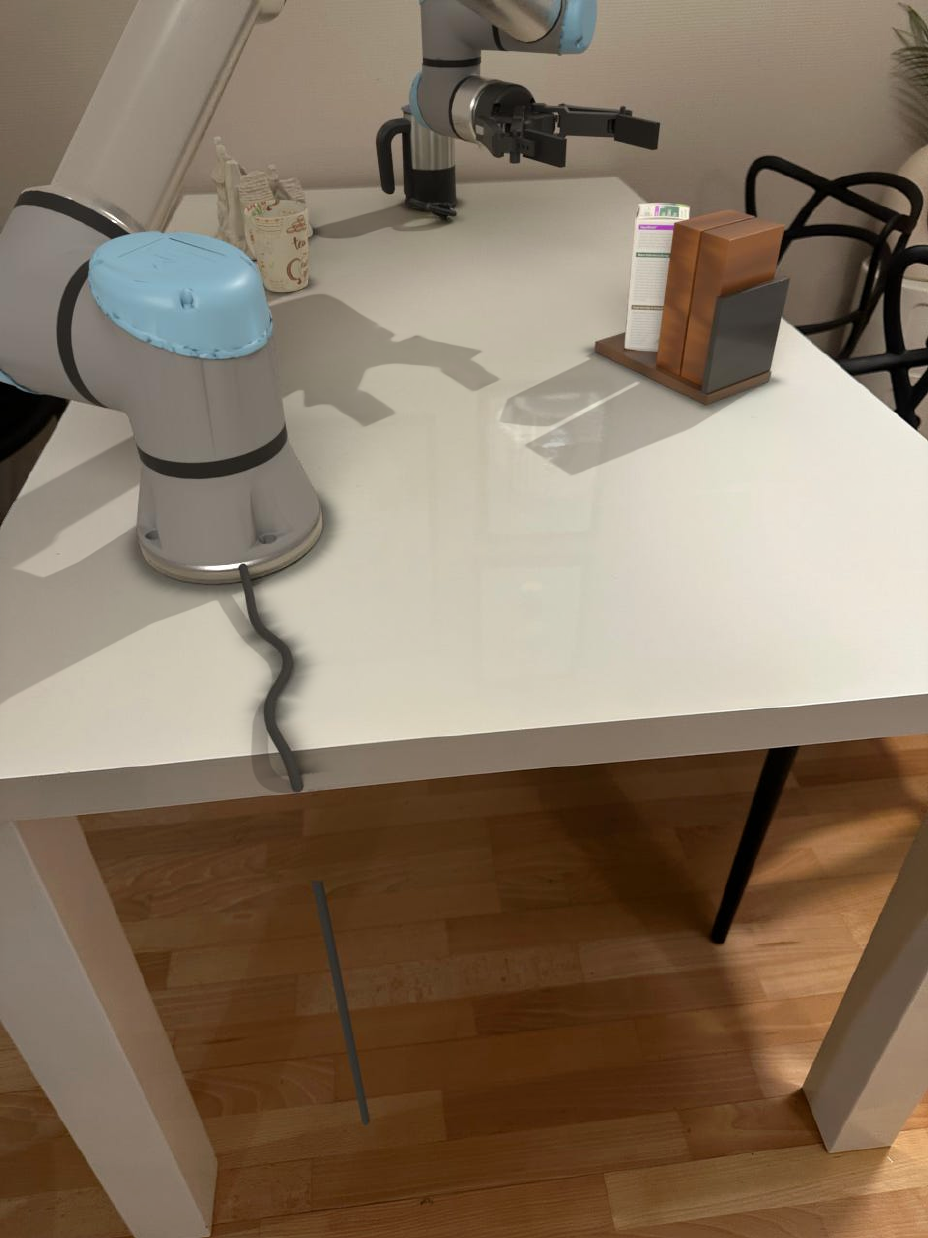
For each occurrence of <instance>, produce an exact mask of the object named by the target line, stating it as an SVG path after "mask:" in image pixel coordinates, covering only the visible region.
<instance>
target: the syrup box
mask: <svg viewBox="0 0 928 1238" xmlns="http://www.w3.org/2000/svg"><path fill="white" fill-rule="evenodd" d="M690 209H691V207H690V205H687V204H681V203H673V202H672V203H671V202H652V203H638V207H637V210H636V213H635V217H634V218H635V219H634V231H633V240H632V251H631V261H630V262H631V263H630V273H629V285H628V286H629V287H628V295H627V296H628V299H627V310H626V321H625V331H624V332H625V344H624V347H625V349H630V350H638V351H654V352H658V345H659V337H660V330H661V322H662V314H663V306H664V298H665V291H666V283H667V275H668V267H669V259H670V252H671V244H672V236H673V228H674V223H675V222H679V221H683V220H687V219H690Z"/></svg>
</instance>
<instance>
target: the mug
mask: <svg viewBox="0 0 928 1238" xmlns="http://www.w3.org/2000/svg"><path fill="white" fill-rule="evenodd" d="M244 216H245V220H246V222H245V238H246V242H247V245H248V247H249V249H250V251H251V253H252V254H253V255H254V257H255V258H256V259H257V260H256V262H257V265H258V266H257V267H258V270H259V274H260V276H261V278H262V283H263V287H264V289H265V290H267V291H269V292H274V293H292V292H297V291H299V290H302V289H305V288H306V287H307V286H308V284H309V237H308V224H309V208H308V206H307V204H306V205H305V204H304V203H301V202H297V201H289V200H275V201H266V202H260V203H256V204H253V205H250V206H248V207H247V208H246V209H245V210H244Z"/></svg>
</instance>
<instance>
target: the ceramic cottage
mask: <svg viewBox="0 0 928 1238" xmlns="http://www.w3.org/2000/svg"><path fill="white" fill-rule="evenodd" d="M212 141H213V144H214V146H215V149H214V157H215V159H216V165H215V167H214V169H213V170H212V171H211V176H210V177H211V181H212V182H213V183H214V185H215V190H216V195H217V203H216V205H217V211H216V212H217V213H216V214H217V221H218V223H219V226H218V227H217V228H218V229H217V231H216V233H214V238H215V239H219V240H221V241H224V242H227V243H229V244H231V245H233V246H234V247H236V248H238V249H239V250H241V251H242V252H244V253H245V254H246V255H247V256H248V257H249V258H250V259H251V260H252V261H254V260H255V261H257V259H256V258H255V257H254V255H253V254H252V253H251V251H250V249H249V247H248V245H247V242H246V238H245V222H246V220H245V216H244V210H245V209H246V208H247V207H248V206H250V205H253V204H256V203H260V202H266V201H275V200H289V201H297V202H301V203H304V204H305V205H306V206H307V203H306V200H307V198H306V195H305V192H304V189H303V188H302V185H301V183H300V181H299V179H298V178H297V177H291V178H288V179H279V175H278V172H277V166H276V165H274V164H270V165H268V166H267V175H266V173H265V172H264V171H262V172H260V171H259V170H255V171H251V172H248V170H247V168H246V167H244V166H242V165H241V164H240V162H238V160H236V159H235V158H234V157H233V156H231V155H228V154H227V151H226V147H225V146H224V144H223V140H222V138H221V137H220V136H215V137H213V138H212ZM313 234H314V230H313V227H312V226H311V224H310V223H308V238H310V237H312V236H313Z"/></svg>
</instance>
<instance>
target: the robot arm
mask: <svg viewBox="0 0 928 1238" xmlns="http://www.w3.org/2000/svg"><path fill="white" fill-rule="evenodd" d="M286 2H287V0H138V1H137V3H136V5H135V7H134V9H133V11H132V13H131V15H130V18H129V20H128V22H127V24H126V26H125V27H124V30H123V32H122V34H121V36H120V38H119V41H118V42H117V45H116V47H115V48H114V50H113V53H112V55H111V56H110V59H109V61H108V62H107V65H106V67H105V70H104V72H103V74H102V76H101V78H100V79H99V82H98V84H97V86H96V89H95V90H94V93H92V94H93V95H92V96H91V98H90V100H89V103H88V105H87V107H86V109H85V111H84V114H83V115H82V117H81V119H80V122H79V124H78V126H77V127H76V130H75V132H74V135H73V136H72V138H71V140H70V143H69V145H68V147H67V149H66V151H65V153H64V155H63V157H62V159H61V161H60V162H59V165H58V168H57V170H56V171H55V173H54V176H53V178H52V180H51V182H50V184H46V185H38V186H37V185H36V186H30V187H27V188H24V190H22V191H21V193H20V194H19V196H18V198H17V200H16V202H15V204H14V206H13V208H12V210H11V212H10V214H9V215H8V218H7V221H6V222H5V224H4V227H3V228H2V231H0V382H1V383H5V384H7V385H11V386H14V387H16V388H17V389H19V390H21V391H23V392H26V393H30V394H34V395H47V396H53V397H57V398H61V399H66V400H69V401H73V402H77V403H80V404H81V403H82V404H85V405H90V406H94V407H98V408H103V409H108V410H112V411H116V412H120V413H123V414H125V415H126V416H127V417H128V419H129V424H130V427H131V431H132V435H133V438H134V441H135V444H136V449H137V452H138V456H139V459H140V464H141V470H140V480H139V489H138V490H139V491H138V503H137V512H136V513H137V514H136V528H135V529H136V530H135V531H136V535H137V539H138V543H139V545H140V549H141V553H142V555H143V557H144V559H145V561H146V562H147V563H148V564H149V566H151V567H152V568H153V569H154V570H156V571H157V572H159V573H161V574H163V575H165V576H167V577H169V578H172V579H175V580H178V581H183V582H187V583H195V584H205V585H207V584H208V585H216V584H217V585H220V584H231V583H238V582H241V585H242V589H243V592H244V598H245V605H246V611H247V615H248V619H249V623H250V624H251V626H252V628H253V629H254V631H255V632H256V633H257V634H258V635H259V636H260V637H261V638H262V639H263V640H264V641H265V642H267V643H268V644H269V645H271V646H272V647H273V648H275V650H277V651H278V653H279V654H280V656H281V659H282V666H281V670H280V672H279V674H278V676H277V678H276V679H275V681H274V683H273V684H272V686H271V688H270V689H269V691H268V693H267V695H266V698H265V701H264V705H263V720H264V725H265V728H266V732H267V733H268V736H269V738H270V740H271V741H272V743H273V744H274V747H275V749H276V750H277V752H278V753H279V755H280V758H281V759H282V762H283V764H284V767H285V770H286V772H287V776H288V779H289V783H290V786H291V789H292V791H293V792H294V793H297V794H298V793H301V792H302V791H303V790H304V784H303V780H302V777H301V772H300V769H299V766H298V764H297V761H296V757H295V755H294V754H293V751H292V749H291V748H290V746H289V743H288V742H287V740H286V739H285V737H284V735H283V734H282V732H281V731H280V728H279V726H278V723H277V721H276V704H277V701H278V698H279V696H280V695H281V693H282V691H283V689H284V688H285V686H286V685H287V683H288V681H289V679H290V677H291V675H292V672H293V667H294V661H293V660H294V659H293V655H292V652H291V649H290V648H289V646H288V645H287V644H286V643H285V642H284V641H283V640H282V639H281V638H279V637H278V636H277V635H275V634H274V633H273V632H271V631H270V629H268V628H267V627H266V626H265V625H264V623H263V622H262V620H261V617H260V616H259V613H258V610H257V602H256V598H255V592H254V588H253V584H252V580H253V579H257V578H260V577H264V576H267V575H270V574H272V573H273V574H274V573H275V572H277V571H280V570H281V569H284V568H286V567H288V566H290V565H291V564H293V563H295V562H296V561H298V560H299V559H301V558H302V557H303V556H304V555H305V554H307V553H308V552H309V551H310V550H311V549H312V548H313V546H314V545H315V544H316V543H317V541H318V540H319V538H320V536H321V533H322V529H323V515H322V507H321V501H320V497H319V496H318V493H317V492H316V489H315V488H314V485H313V484H312V481H311V480H310V478H309V476H308V474H307V473H306V471H305V468H304V466H303V465H302V464H301V462H300V459H299V458H298V455H297V453H296V452H295V450H294V448H293V446H292V445H291V443H290V439H289V435H288V429H287V423H286V416H285V410H284V408H285V407H284V402H283V395H282V388H281V381H280V373H279V366H278V360H277V352H276V346H275V339H274V332H273V330H274V322H273V321H274V320H273V316H272V312H271V307H270V306H269V303H268V302H267V297H266V291H265V286H264V283H263V280H262V276H261V273H260V271H259V268H258V266H257V265H256V264H255V262H254V260H251V259H250V258H249V257H248V256H247V255H246V254H245V253H244V252H242V251H241V250H239V249H238V248H236V247H234V246H233V245H231V244H229V243H227V242H224V241H221V240H219V239H216V238H215V237H212V236H208V235H204V234H200V233H195V232H187V231H173V232H170V233H164V232H162V231H163V229H164V227H165V224H166V222H167V220H168V218H169V215H170V213H171V211H172V209H173V207H174V204H175V202H176V200H177V197H178V196H179V193H180V191H181V188H182V186H183V184H184V182H185V180H186V177H187V176H188V173H189V171H190V168H191V166H192V165H193V162H194V160H195V158H196V156H197V153H198V151H199V149H200V146H201V145H202V143H203V140H204V138H205V136H206V133H207V132H208V129H209V127H210V125H211V123H212V120H213V118H214V116H215V113H216V111H217V109H218V107H219V105H220V103H221V100H222V98H223V96H224V93H225V91H226V90H227V87H228V84H229V82H230V80H231V78H232V76H233V74H234V71H235V69H236V66H237V65H238V63H239V60H240V58H241V55H242V53H243V51H244V50H245V47H246V45H247V42H248V41H249V38H250V36H251V33H252V31H253V30H254V27H255V25H264V24H267V23H270V22H273V20H275V19H276V18H277V17H279V15H280V14H281V12H282V11H283V8H284V7H285V5H286ZM418 2H419V6H420V26H421V27H420V28H421V29H420V30H421V51H422V53H421V54H422V63H421V70H419V72H418V73H417V74H416V75H415V76H414V77H413V80H412V83H411V86H410V89H409V91H408V104H409V106H410V110H411V113H412V115H413V117H414V119H415V120H416V121H417V122H418V123H419V124H420V125H421V126H422V127H424V128H426V129H429V130H431V131H433V132H434V133H436V134H439V135H442V136H448V137H452V138H455V140H456V139H457V140H460V141H463V142H466V143H470V144H475V145H478V149H479V150H480V151H484V150H486V149H487V150H488V151H489V153H490V154H491V156H492V157H494V158H495V159H501V158H504V157H505V154H506V155H507V154H509V164H513V165H514V164H516V165H517V164H520V163H521V155H522V158H524V159H529V160H531V161H535V162H538V163H542V164H546V165H549V166H551V167H556V168H559V169H562V168H566V164H567V163H566V162H567V160H566V159H567V147H568V146H567V145H568V138H566V137H589V138H590V137H591V138H613V141H614V142H617V143H622V144H625V145H630V146H634V147H638V148H643V149H646V150H649V151H656V150H658V147H659V139H660V138H659V137H660V129H661V122H660V121H655V120H651V119H645V118H642V117H636V116H633V113H634V111H633V110H631V109H627V106H626V105H625V106H624V105H620V107H619V109H615V108H603V107H593V106H592V107H590V106H580V105H572V104H567V103H564V102H563V103H559V104H557V105H549V104H547V103H545V102H537V101H536V100H535V97H534V95H533V94H532V93H531V91H530V90H529V89H528V88H527V87H526V86H524V85H522V84H519V83H514V82H510V81H504V80H502V79H498V78H493V77H488V76H481V63H482V51H494V52H515V53H516V52H517V53H531V54H533V53H534V54H546V55H547V54H548V55H557V56H558V57H562V56H563V55H580V54H583V53H584V52H586V51H587V50H588V48H589V47H590V45H591V43H592V41H593V39H594V35H595V31H596V26H597V25H596V24H597V17H598V0H418ZM556 128H559V132H555V130H556ZM310 882H311V885H312V890H313V895H314V900H315V904H316V909H317V915H318V919H319V923H320V928H321V932H322V937H323V942H324V947H325V951H326V956H327V961H328V965H329V971H330V975H331V981H332V984H333V990H334V994H335V998H336V1003H337V1009H338V1014H339V1018H340V1023H341V1027H342V1033H343V1037H344V1041H345V1046H346V1051H347V1056H348V1062H349V1066H350V1071H351V1075H352V1076H351V1077H352V1079H353V1086H354V1090H355V1095H356V1100H357V1105H358V1109H359V1113H360V1117H361V1122H362V1125H364V1126H368V1125H369V1124H370V1122H371V1119H370V1113H369V1110H368V1109H369V1108H368V1104H367V1098H366V1094H365V1088H364V1083H363V1078H362V1073H361V1072H362V1071H361V1067H360V1063H359V1058H358V1052H357V1048H356V1041H355V1038H354V1037H355V1036H354V1032H353V1026H352V1021H351V1017H350V1011H349V1006H348V1001H347V996H346V991H345V985H344V980H343V975H342V971H341V965H340V960H339V955H338V950H337V945H336V941H335V936H334V931H333V925H332V921H331V916H330V910H329V906H328V902H327V895H326V891H325V885H324V882H323V881H317V880H311V881H310Z"/></svg>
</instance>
